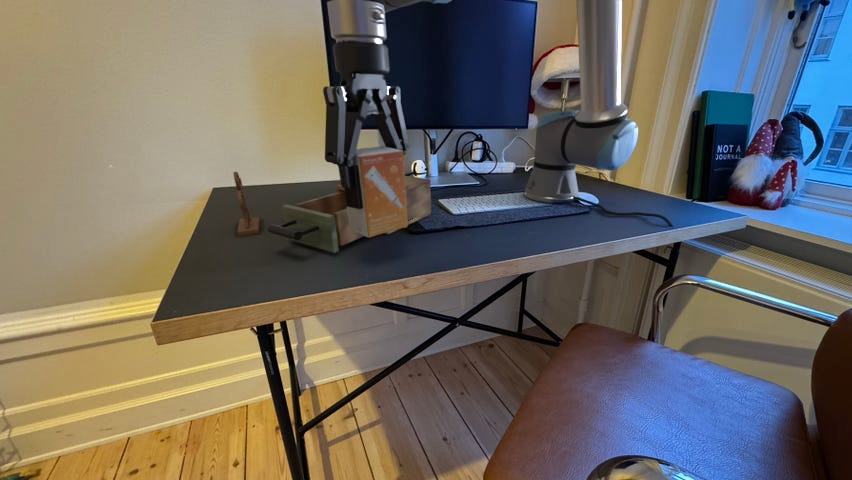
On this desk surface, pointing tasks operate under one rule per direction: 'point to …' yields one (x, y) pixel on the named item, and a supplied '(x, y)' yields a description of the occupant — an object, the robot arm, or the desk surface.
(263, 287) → the desk surface
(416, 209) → the cabinet
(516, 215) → the desk surface
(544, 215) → the desk surface
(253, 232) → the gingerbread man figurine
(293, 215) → the drawer
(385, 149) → the small box
